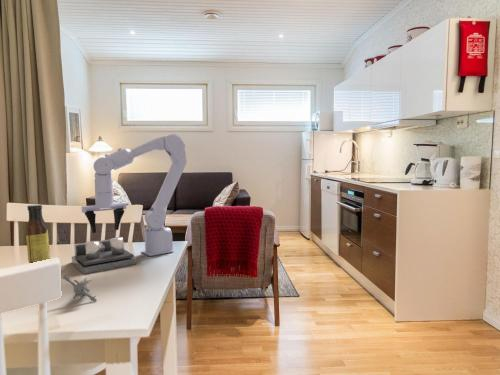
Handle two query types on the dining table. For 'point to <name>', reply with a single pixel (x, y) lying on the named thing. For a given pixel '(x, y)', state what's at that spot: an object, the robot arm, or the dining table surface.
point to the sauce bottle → (37, 235)
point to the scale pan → (104, 257)
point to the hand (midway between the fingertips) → (105, 231)
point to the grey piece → (80, 288)
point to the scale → (103, 247)
